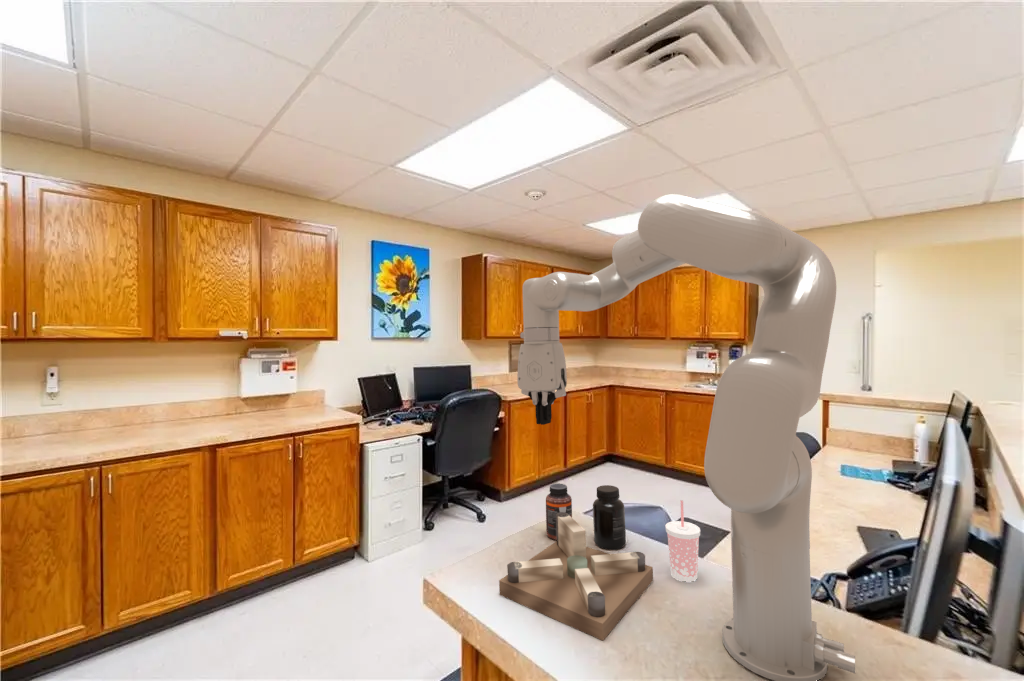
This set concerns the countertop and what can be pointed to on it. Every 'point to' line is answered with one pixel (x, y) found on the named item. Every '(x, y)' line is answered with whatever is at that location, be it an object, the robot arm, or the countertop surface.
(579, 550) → the hinged leg
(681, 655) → the countertop surface
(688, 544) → the beverage cup
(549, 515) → the supplement bottle
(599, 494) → the supplement bottle
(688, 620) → the countertop surface
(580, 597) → the stool seat
